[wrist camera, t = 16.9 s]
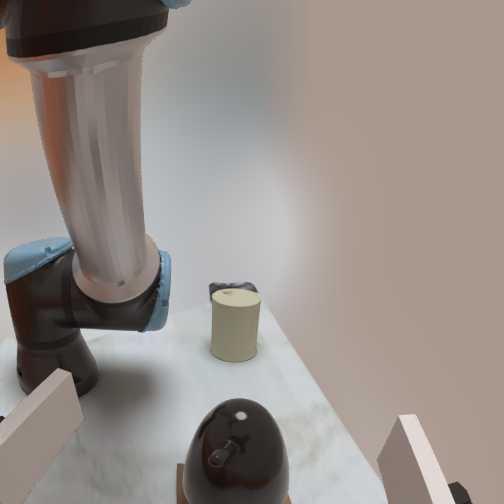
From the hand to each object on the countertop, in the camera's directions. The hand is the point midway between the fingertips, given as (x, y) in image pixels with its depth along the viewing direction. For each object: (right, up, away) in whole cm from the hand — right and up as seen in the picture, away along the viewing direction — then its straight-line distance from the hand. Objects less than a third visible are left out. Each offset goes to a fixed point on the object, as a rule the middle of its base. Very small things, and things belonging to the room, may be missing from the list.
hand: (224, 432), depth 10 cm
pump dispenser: (-1, -20, +14) cm, 24 cm away
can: (-3, -13, +50) cm, 52 cm away
